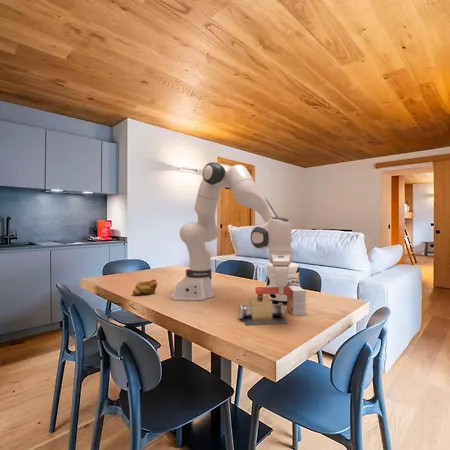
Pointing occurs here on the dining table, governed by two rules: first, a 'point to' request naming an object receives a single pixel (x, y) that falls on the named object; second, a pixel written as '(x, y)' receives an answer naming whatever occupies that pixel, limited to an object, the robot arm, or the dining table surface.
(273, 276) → the milk container
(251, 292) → the dining table surface
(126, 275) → the dining table surface
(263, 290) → the lever
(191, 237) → the robot arm
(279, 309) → the valve
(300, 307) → the small box
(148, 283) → the bread roll
